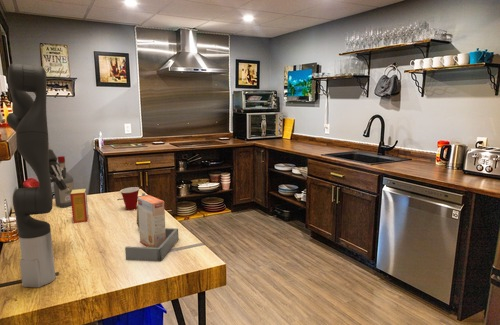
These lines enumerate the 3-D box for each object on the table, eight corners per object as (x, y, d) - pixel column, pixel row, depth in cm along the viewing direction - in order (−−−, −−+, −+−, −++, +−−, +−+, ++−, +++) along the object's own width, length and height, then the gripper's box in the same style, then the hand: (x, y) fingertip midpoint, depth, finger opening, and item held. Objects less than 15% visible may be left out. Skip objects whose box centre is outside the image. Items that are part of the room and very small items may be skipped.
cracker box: (167, 248, 146) (165, 200, 142) (154, 252, 142) (151, 203, 138) (152, 238, 156) (149, 194, 153) (139, 242, 152) (136, 196, 149)
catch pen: (160, 261, 134) (160, 249, 133) (125, 259, 135) (125, 247, 134) (178, 239, 156) (178, 228, 155) (148, 237, 157) (147, 227, 156)
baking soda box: (75, 217, 186) (72, 189, 183) (88, 216, 188) (85, 187, 185) (73, 223, 177) (70, 193, 174) (87, 221, 179) (84, 192, 176)
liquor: (77, 204, 210) (72, 156, 205) (62, 208, 202) (57, 158, 197) (68, 202, 215) (64, 155, 210) (54, 206, 207) (49, 157, 202)
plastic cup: (119, 207, 203) (118, 188, 201) (138, 205, 208) (137, 186, 206) (122, 212, 194) (121, 192, 192) (142, 209, 199) (141, 189, 197)
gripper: (36, 149, 134) (59, 187, 133) (60, 148, 147) (81, 182, 146) (23, 159, 135) (45, 196, 135) (47, 157, 148) (68, 191, 148)
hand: (64, 189), depth 141 cm, fingers closed
